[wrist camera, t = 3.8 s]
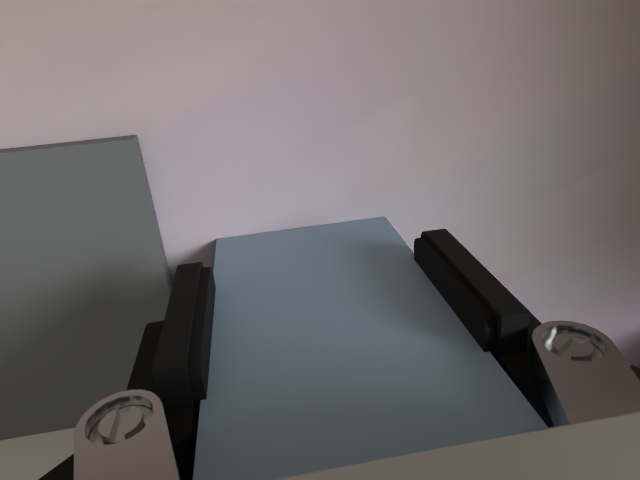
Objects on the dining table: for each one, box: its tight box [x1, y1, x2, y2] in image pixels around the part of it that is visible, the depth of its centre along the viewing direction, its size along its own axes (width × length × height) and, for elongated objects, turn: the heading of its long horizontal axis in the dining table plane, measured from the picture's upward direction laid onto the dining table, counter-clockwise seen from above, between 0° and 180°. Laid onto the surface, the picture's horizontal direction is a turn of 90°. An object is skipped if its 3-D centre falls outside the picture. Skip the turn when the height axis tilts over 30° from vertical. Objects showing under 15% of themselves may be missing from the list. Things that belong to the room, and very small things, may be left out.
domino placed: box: [193, 217, 548, 480], centre depth 10 cm, size 2×5×10 cm, turn 95°
